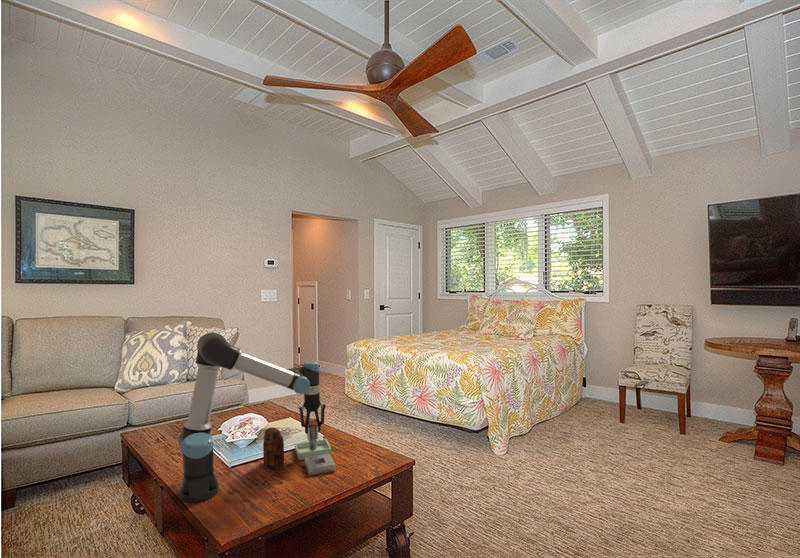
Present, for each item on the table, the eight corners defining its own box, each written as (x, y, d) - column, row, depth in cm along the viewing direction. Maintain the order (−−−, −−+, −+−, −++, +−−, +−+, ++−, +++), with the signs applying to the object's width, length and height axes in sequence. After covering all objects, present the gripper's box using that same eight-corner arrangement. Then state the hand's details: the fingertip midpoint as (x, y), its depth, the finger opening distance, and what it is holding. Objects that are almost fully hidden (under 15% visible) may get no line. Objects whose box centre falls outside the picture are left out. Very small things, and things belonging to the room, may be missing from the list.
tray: (298, 459, 224) (298, 453, 224) (294, 449, 235) (294, 443, 235) (331, 454, 230) (331, 448, 230) (326, 444, 241) (326, 438, 241)
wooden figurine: (258, 466, 218) (257, 428, 216) (267, 460, 224) (266, 424, 222) (278, 471, 213) (277, 433, 211) (287, 465, 219) (286, 428, 217)
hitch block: (308, 475, 209) (308, 468, 209) (304, 463, 220) (304, 457, 220) (335, 470, 213) (335, 464, 213) (329, 459, 225) (329, 453, 224)
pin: (308, 451, 229) (308, 423, 228) (306, 447, 234) (306, 419, 233) (319, 449, 231) (318, 421, 230) (317, 445, 236) (316, 418, 235)
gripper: (295, 397, 224) (296, 444, 226) (330, 393, 230) (331, 439, 232) (293, 392, 231) (294, 438, 233) (327, 388, 237) (327, 433, 239)
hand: (312, 438), depth 232 cm, fingers closed on pin, 4 cm apart
